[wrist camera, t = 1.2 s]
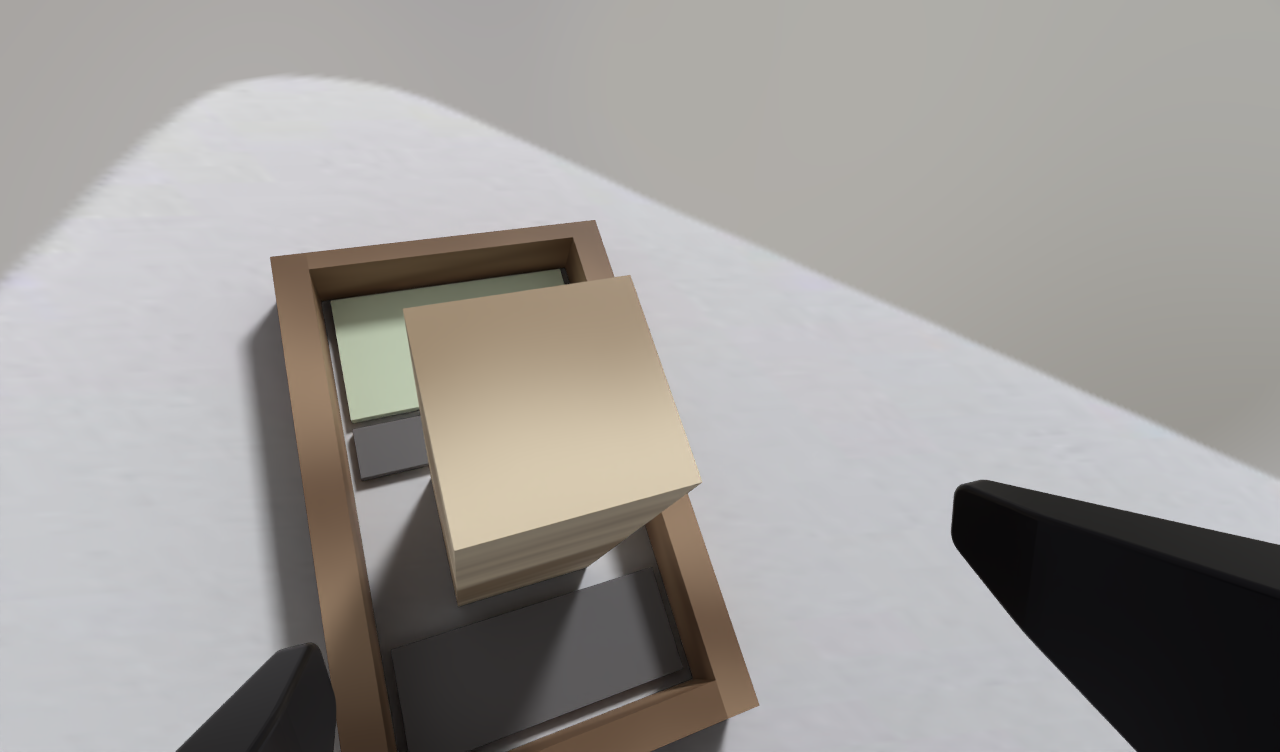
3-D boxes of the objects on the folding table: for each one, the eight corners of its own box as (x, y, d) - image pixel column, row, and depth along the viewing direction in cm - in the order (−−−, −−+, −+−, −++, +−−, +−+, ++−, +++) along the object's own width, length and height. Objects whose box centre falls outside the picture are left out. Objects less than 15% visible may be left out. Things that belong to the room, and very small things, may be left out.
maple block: (586, 567, 20) (702, 482, 11) (457, 606, 19) (455, 550, 9) (553, 449, 22) (630, 275, 12) (431, 478, 20) (402, 308, 10)
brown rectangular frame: (732, 701, 20) (759, 705, 18) (369, 851, 16) (359, 875, 14) (585, 251, 25) (595, 219, 23) (285, 290, 21) (269, 257, 20)
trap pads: (680, 668, 20) (683, 668, 20) (413, 770, 17) (412, 772, 17) (592, 383, 23) (594, 380, 23) (354, 432, 20) (352, 429, 20)
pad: (590, 376, 23) (591, 372, 23) (352, 423, 20) (350, 420, 20) (558, 273, 24) (559, 269, 24) (332, 305, 22) (330, 300, 21)
